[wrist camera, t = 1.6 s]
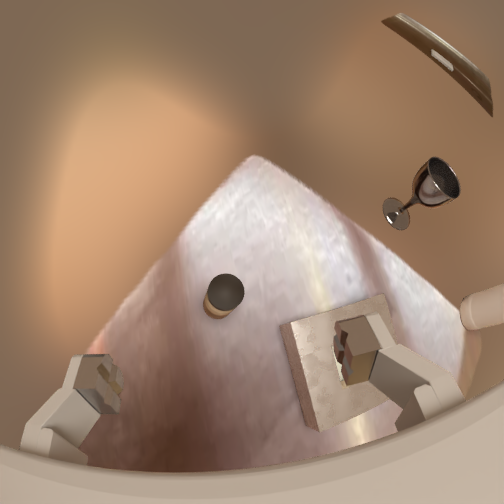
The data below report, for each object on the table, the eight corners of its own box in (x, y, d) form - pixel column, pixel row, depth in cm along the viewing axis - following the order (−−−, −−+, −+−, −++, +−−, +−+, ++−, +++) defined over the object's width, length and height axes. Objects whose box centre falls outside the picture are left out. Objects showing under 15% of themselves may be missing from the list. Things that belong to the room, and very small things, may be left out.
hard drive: (452, 64, 97) (432, 48, 97) (453, 70, 94) (432, 53, 94) (450, 66, 99) (430, 50, 99) (451, 72, 96) (430, 55, 95)
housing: (305, 425, 39) (319, 432, 34) (279, 325, 43) (290, 322, 39) (389, 387, 43) (407, 388, 39) (366, 299, 48) (383, 293, 43)
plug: (227, 322, 42) (239, 313, 33) (200, 314, 41) (203, 303, 32) (234, 295, 43) (248, 279, 34) (207, 287, 43) (213, 269, 34)
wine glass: (417, 221, 56) (465, 188, 42) (397, 238, 53) (450, 205, 39) (395, 190, 57) (439, 151, 43) (374, 205, 54) (421, 164, 40)
